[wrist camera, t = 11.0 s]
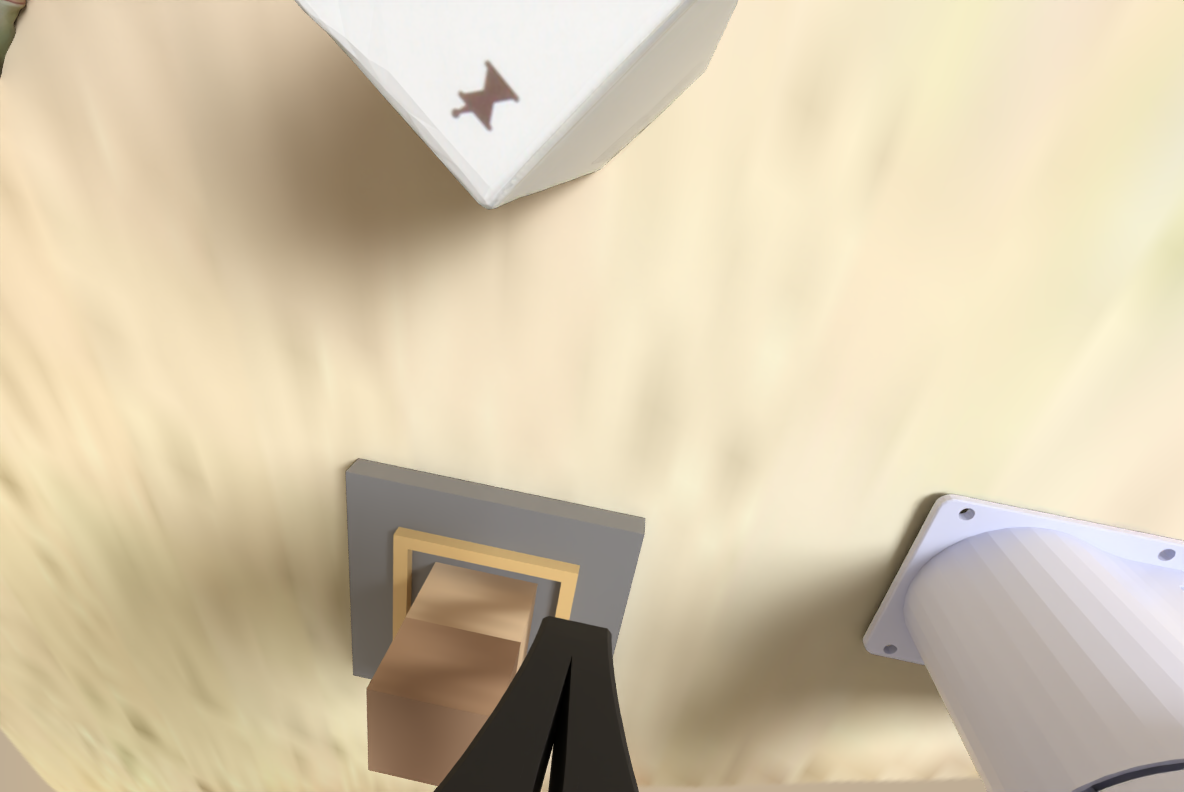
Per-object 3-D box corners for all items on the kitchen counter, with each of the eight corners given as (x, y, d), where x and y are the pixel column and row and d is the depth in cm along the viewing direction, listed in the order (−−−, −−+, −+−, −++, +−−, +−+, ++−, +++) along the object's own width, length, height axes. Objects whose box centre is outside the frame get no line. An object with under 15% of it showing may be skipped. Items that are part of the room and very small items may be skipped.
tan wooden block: (537, 583, 23) (498, 718, 18) (526, 655, 25) (487, 797, 20) (435, 561, 23) (366, 688, 18) (432, 635, 25) (368, 769, 20)
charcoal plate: (645, 518, 22) (644, 542, 21) (596, 710, 28) (592, 739, 26) (358, 458, 23) (338, 478, 22) (363, 657, 28) (348, 684, 27)
